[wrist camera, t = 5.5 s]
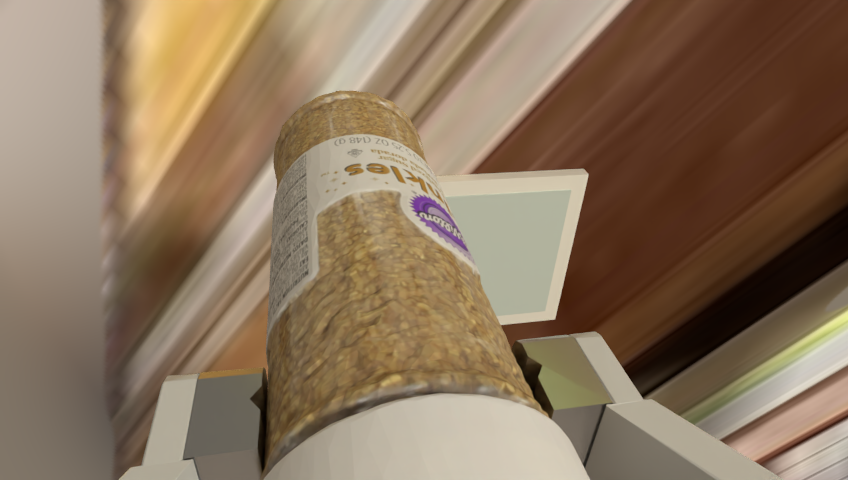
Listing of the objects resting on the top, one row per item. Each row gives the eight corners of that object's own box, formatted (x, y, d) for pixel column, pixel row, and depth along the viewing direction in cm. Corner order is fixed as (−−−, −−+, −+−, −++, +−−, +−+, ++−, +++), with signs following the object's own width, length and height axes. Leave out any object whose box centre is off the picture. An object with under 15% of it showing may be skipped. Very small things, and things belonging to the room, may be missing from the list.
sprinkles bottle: (445, 123, 17) (723, 564, 6) (379, 239, 19) (504, 738, 8) (306, 57, 15) (352, 520, 4) (247, 192, 17) (175, 760, 6)
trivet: (583, 168, 36) (589, 175, 35) (550, 312, 42) (555, 320, 41) (396, 178, 33) (399, 184, 33) (393, 328, 40) (395, 336, 39)
